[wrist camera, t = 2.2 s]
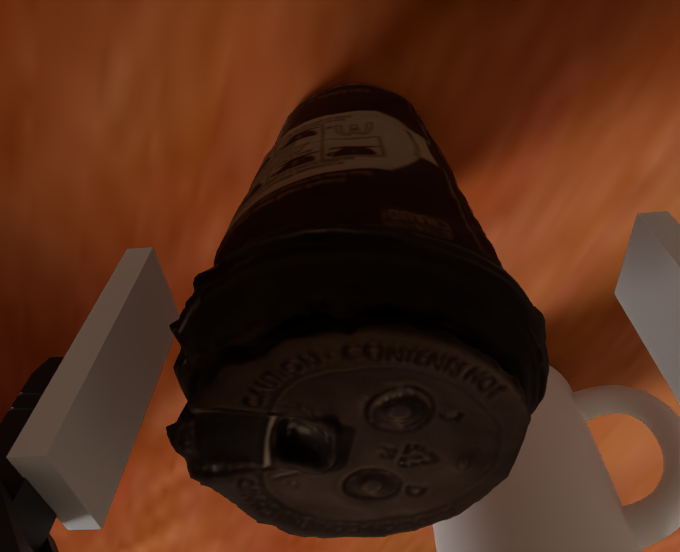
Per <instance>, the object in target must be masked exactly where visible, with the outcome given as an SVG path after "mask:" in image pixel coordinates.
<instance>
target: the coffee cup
mask: <svg viewBox="0 0 680 552" xmlns="http://www.w3.org/2000/svg"><path fill="white" fill-rule="evenodd" d="M193 285H194V293H193V295H192V296H191V297H190V298H189V299H188V300H187V302H186V306H185V308H184V309H183V311H182V313H181V315H180V318H179V319H178V320H176V321H175V322H173V323H171V324H170V325H169V326H170V329H171V331H172V333H173V334H174V336H175V337H176V339H177V340H178V342H179V343H180V345H181V350H180V353H179V355H178V357H177V360H176V362H175V364H174V371H175V374H176V376H177V379H178V381H179V384H180V387H181V389H182V391H183V393H184V395H185V397H186V399H187V401H188V402H187V404H186V405H185V407H184V409H183V411H182V412H181V414H180V416H179V418H178V420H177V422H175V423H174V424H172V425H169V426H167V427H166V430H167V436H168V438H169V440H170V443H171V445H172V446H173V448H174V449H175V451H176V452H177V453H179V454H180V455H181V456H183V457H184V458H185V460H186V462H187V468H188V472H189V475H190V477H191V478H192V479H194V480H197V481H199V482H200V484H201V485H204V486H207V487H210V488H212V489H213V490H215V491H216V492H218V493H220V494H221V495H223V496H224V497H225V498H227V499H228V500H230V501H231V502H232V503H234V504H236V505H237V506H238V508H240V509H241V510H243V511H244V512H245V513H246V514H247V515H249V516H250V517H252V518H253V519H255V520H256V521H257V522H258V523H263V524H269V525H273V526H276V527H277V528H278V529H280V530H282V531H284V532H286V533H288V534H291V535H296V536H302V537H318V538H336V537H385V536H388V535H392V534H397V533H402V532H409V531H415V530H418V529H420V528H423V527H426V526H429V525H432V524H435V523H437V522H440V521H443V520H448V519H451V518H452V517H455V516H457V515H459V514H461V513H462V512H464V511H465V510H467V509H468V508H469V507H471V506H472V505H473V504H474V503H476V502H478V501H480V500H481V499H482V498H483V497H485V496H486V495H487V494H488V493H489V492H491V491H492V490H493V489H494V488H495V487H496V486H498V485H499V484H500V483H501V482H502V481H503V480H505V479H506V478H507V477H508V476H509V473H510V471H511V469H512V467H513V465H514V463H515V461H516V458H517V456H518V454H519V451H520V449H521V446H522V444H523V442H524V439H525V435H526V432H527V428H528V425H529V424H530V421H531V415H532V414H533V413H534V411H535V410H536V408H537V407H538V405H539V404H540V402H541V401H542V400H543V398H544V395H545V392H546V387H547V379H548V374H549V359H548V354H547V348H546V344H545V341H546V331H545V319H544V316H543V314H542V313H541V312H540V311H539V310H538V309H537V308H536V307H534V306H533V305H532V303H531V302H530V300H529V298H528V297H527V295H526V294H525V292H524V291H523V289H522V288H521V287H520V286H519V284H518V283H517V282H516V281H515V280H514V279H513V278H512V277H511V276H510V275H509V274H508V273H507V272H506V271H505V270H504V269H503V267H502V264H501V262H500V261H499V259H498V257H497V254H496V252H495V249H494V247H493V245H492V244H491V242H490V241H489V240H488V239H487V237H486V234H485V233H484V232H483V230H482V227H481V226H480V224H479V222H478V221H477V219H476V218H475V217H474V215H473V212H472V209H471V208H470V206H469V205H468V202H467V200H466V198H465V196H464V195H463V193H462V192H461V191H460V189H459V188H458V185H457V182H456V180H455V177H454V175H453V172H452V170H451V168H450V166H449V164H448V162H447V160H446V159H445V157H444V155H443V153H442V152H441V150H440V149H439V147H438V146H437V144H436V143H435V142H434V140H433V139H432V138H431V136H430V134H429V133H428V131H427V130H426V128H425V126H424V124H423V122H422V120H421V118H420V116H419V115H418V113H417V112H416V111H415V109H414V108H413V106H412V105H411V104H410V102H408V101H407V100H406V99H404V98H403V97H401V96H399V95H397V94H395V93H392V92H390V91H387V90H384V89H381V88H378V87H375V86H372V85H366V84H347V85H340V86H336V87H334V88H331V89H328V90H325V91H323V92H321V93H318V94H316V95H314V96H312V97H310V98H308V99H306V100H305V101H303V102H302V103H301V104H300V105H299V106H298V107H297V108H296V109H295V110H294V111H293V112H292V113H291V114H290V115H289V116H288V118H287V121H286V122H285V124H284V126H283V128H282V130H281V132H280V134H279V136H278V138H277V141H276V144H275V145H274V146H273V148H272V149H271V150H270V152H269V153H268V154H267V155H266V156H265V157H264V160H263V162H262V164H261V166H260V168H259V170H258V172H257V174H256V176H255V178H254V180H253V182H252V184H251V187H250V189H249V192H248V194H247V195H246V196H245V198H244V200H243V201H242V203H241V205H240V206H239V208H238V209H237V211H236V213H235V215H234V217H233V219H232V221H231V223H230V225H229V228H228V230H227V232H226V234H225V236H224V238H223V240H222V242H221V244H220V246H219V248H218V250H217V253H216V256H215V260H214V267H212V268H211V269H209V270H207V271H204V272H202V273H199V274H198V275H197V276H196V277H195V278H194V282H193Z"/></svg>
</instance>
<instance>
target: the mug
mask: <svg viewBox="0 0 680 552" xmlns="http://www.w3.org/2000/svg"><path fill="white" fill-rule="evenodd" d="M611 413H622V414H627V415H630V416H633V417H635V418H637V419H639V420H640V421H642V422H643V423H644V424H645V425H646V426H647V427H648V428H649V429H650V430H651V431H652V433H653V434H654V436H655V437H656V439H657V441H658V443H659V445H660V447H661V450H662V454H663V461H664V466H663V474H662V477H661V480H660V482H659V484H658V486H657V487H656V488H655V490H654V491H653V492H652V493H651V494H649V495H648V496H647V497H645V498H643V499H641V500H640V501H637V502H635V503H632V504H629V505H625V506H623V505H622V503H621V500H620V498H619V496H618V493H617V491H616V489H615V486H614V484H613V482H612V480H611V477H610V475H609V473H608V470H607V468H606V466H605V463H604V461H603V459H602V457H601V454H600V452H599V450H598V447H597V445H596V443H595V440H594V438H593V436H592V434H591V431H590V429H589V427H588V426H587V423H586V422H587V420H590V419H592V418H595V417H598V416H601V415H605V414H611ZM433 527H434V535H435V542H436V549H437V552H643V551H642V549H643V548H644V547H647V546H650V545H652V544H655V543H657V542H659V541H661V540H663V539H664V538H666V537H667V536H669V535H671V534H672V533H673V532H674V531H676V530H677V529H678V528H679V527H680V417H679V416H678V415H677V414H676V413H675V412H674V411H673V410H672V409H671V408H670V407H669V406H668V405H667V404H665V403H664V402H663V401H661V400H660V399H658V398H657V397H655V396H654V395H652V394H650V393H648V392H646V391H643V390H640V389H637V388H634V387H630V386H624V385H602V386H594V387H590V388H586V389H582V390H579V391H576V392H573V391H572V390H571V388H570V386H569V384H568V382H567V381H566V380H565V378H564V377H563V376H562V375H561V374H560V373H559V372H558V371H557V370H556V369H554V368H553V367H552V366H550V365H549V374H548V379H547V387H546V392H545V395H544V398H543V400H542V401H541V402H540V404H539V405H538V407H537V408H536V410H535V411H534V413H533V414H532V415H531V421H530V424H529V425H528V428H527V432H526V435H525V439H524V442H523V444H522V446H521V449H520V451H519V454H518V456H517V458H516V461H515V463H514V465H513V467H512V469H511V471H510V473H509V476H508V477H507V478H506V479H505V480H503V481H502V482H501V483H500V484H499V485H498V486H496V487H495V488H494V489H493V490H492V491H491V492H489V493H488V494H487V495H486V496H485V497H483V498H482V499H481V500H480V501H478V502H476V503H474V504H473V505H472V506H471V507H469V508H468V509H467V510H465V511H464V512H462V513H461V514H459V515H457V516H455V517H452V518H451V519H448V520H443V521H440V522H437V523H435V524H433Z"/></svg>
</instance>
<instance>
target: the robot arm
mask: <svg viewBox="0 0 680 552" xmlns="http://www.w3.org/2000/svg"><path fill="white" fill-rule="evenodd" d="M614 294H615V296H616V298H617V299H618V301H619V303H620V304H621V306H622V308H623V309H624V311H625V313H626V314H627V316H628V318H629V319H630V321H631V323H632V325H633V326H634V328H635V330H636V331H637V333H638V335H639V336H640V338H641V340H642V341H643V343H644V345H645V347H646V348H647V350H648V352H649V353H650V355H651V357H652V358H653V360H654V362H655V363H656V365H657V367H658V369H659V370H660V372H661V374H662V375H663V377H664V379H665V380H666V382H667V384H668V385H669V387H670V389H671V391H672V392H673V394H674V396H675V397H676V399H677V401H678V402H679V404H680V225H679V224H678V223H677V221H676V220H675V219H674V218H673V217H672V216H671V215H670V213H669V212H668V211H666V212H652V213H637V216H636V220H635V223H634V227H633V230H632V233H631V237H630V240H629V244H628V247H627V251H626V254H625V258H624V261H623V265H622V268H621V272H620V275H619V278H618V282H617V285H616V289H615V292H614ZM179 318H180V315H179V313H178V310H177V307H176V305H175V302H174V300H173V297H172V295H171V292H170V289H169V287H168V284H167V282H166V279H165V276H164V274H163V271H162V269H161V266H160V263H159V261H158V258H157V256H156V253H155V250H154V248H153V247H147V248H133V249H127V250H126V251H125V253H124V255H123V257H122V258H121V260H120V262H119V264H118V265H117V267H116V269H115V270H114V272H113V274H112V276H111V277H110V279H109V281H108V283H107V284H106V286H105V288H104V289H103V291H102V293H101V295H100V296H99V298H98V300H97V302H96V303H95V305H94V307H93V308H92V310H91V312H90V314H89V315H88V317H87V319H86V321H85V322H84V324H83V326H82V327H81V329H80V331H79V333H78V334H77V336H76V338H75V340H74V341H73V343H72V345H71V346H70V348H69V350H68V352H67V353H66V355H65V357H51V358H49V359H48V360H46V361H45V362H44V363H43V364H42V365H41V366H40V367H39V368H38V369H37V370H36V371H34V372H33V373H32V374H31V376H30V377H29V379H28V381H27V382H26V384H25V386H24V387H23V389H22V390H21V392H20V396H18V397H17V398H16V400H15V402H14V403H13V405H12V406H11V411H8V413H7V414H6V416H5V418H4V419H3V421H2V422H1V424H0V552H58V549H57V546H56V543H55V541H54V539H53V538H52V537H51V535H50V534H49V532H50V530H51V528H52V525H53V523H54V521H55V519H56V517H57V518H58V519H59V520H60V521H61V523H62V524H63V525H64V526H65V527H66V528H67V530H89V529H102V527H103V525H104V522H105V519H106V517H107V514H108V511H109V509H110V506H111V503H112V501H113V498H114V495H115V493H116V490H117V487H118V485H119V482H120V479H121V477H122V474H123V471H124V469H125V466H126V463H127V461H128V458H129V455H130V453H131V450H132V447H133V445H134V442H135V439H136V437H137V434H138V431H139V429H140V426H141V423H142V421H143V418H144V415H145V413H146V410H147V407H148V405H149V402H150V399H151V397H152V394H153V391H154V389H155V386H156V384H157V381H158V378H159V376H160V373H161V370H162V368H163V365H164V362H165V360H166V357H167V354H168V352H169V349H170V346H171V344H172V341H173V338H174V334H173V333H172V331H171V329H170V326H169V325H170V324H171V323H173V322H175V321H176V320H178V319H179Z"/></svg>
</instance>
